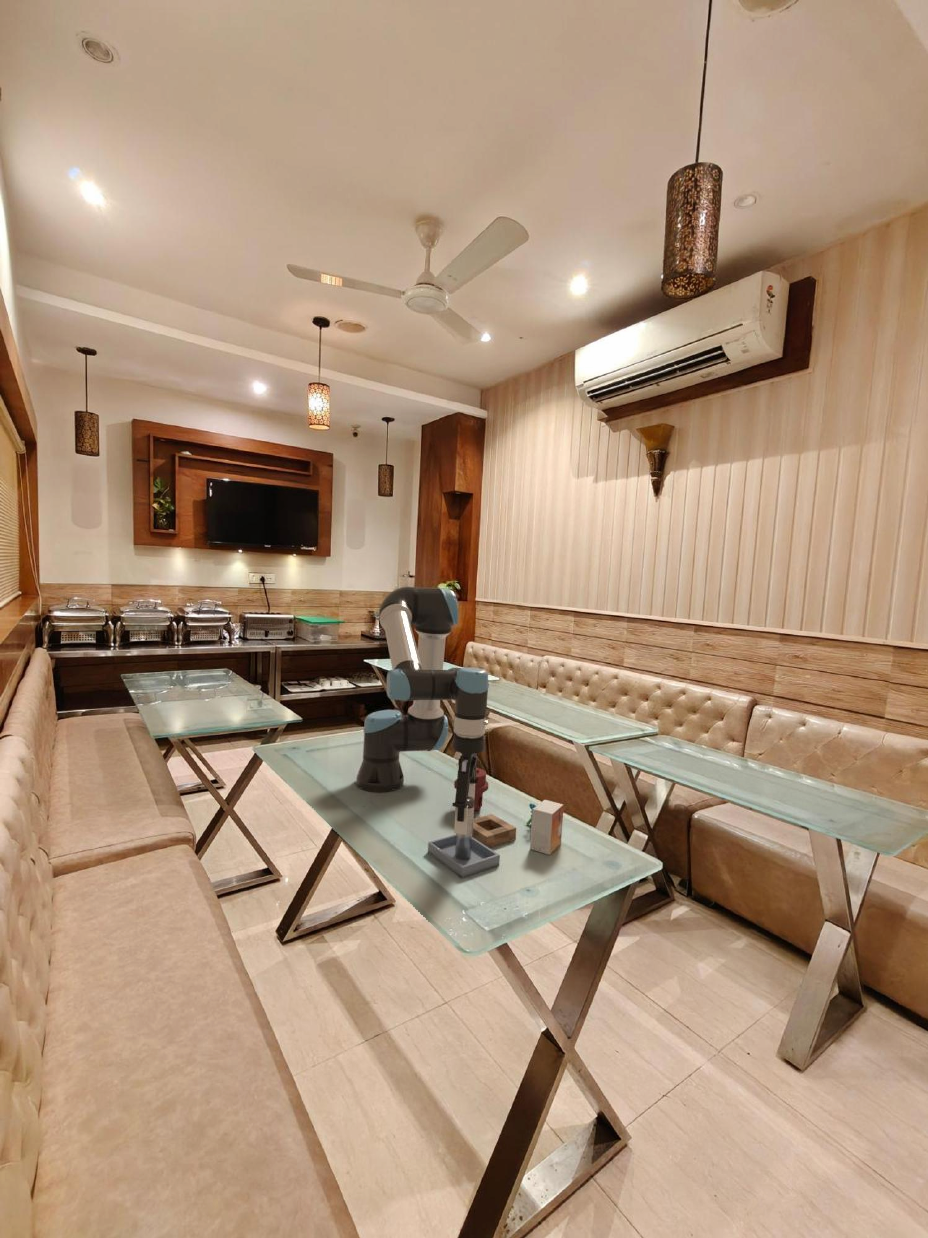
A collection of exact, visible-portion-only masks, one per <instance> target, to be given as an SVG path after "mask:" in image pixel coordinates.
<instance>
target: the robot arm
mask: <svg viewBox="0 0 928 1238" xmlns="http://www.w3.org/2000/svg"><path fill="white" fill-rule="evenodd" d="M458 603H459V602H458V598H457V595H456V593H455V592H454V591H453V590H452V589H449V588H442V587H417V586H415V587H414V586H403V587H399V588H397V589H394V590H393V591H391V592H390V593H388V595H386V597H385V598H384V599H383V600H382V602H381V604H380V606H379V610H378V619H379V623H380V625H381V627H382V629H384V634H385V637H386V641H387V647H388V648H387V649H388V654H389V659H390V664H391V668H392V669H390V670H389V671H387V674H386V696H387V697H388V699H390V700H391V701H403V702H407V701H408V702H409V701H412V702H413V703H412V705H411V706H410V707H408V710H407V714H405V715H404V714H402V712H401V710H399V709H398V710H397V709H384V710H377V711H374V712H371V713H370V714H368V715H367V716H366V717H365V719H364V726H363V727H364V728H363V748H362V749H363V750H362V753H363V754H362V762H361V764H360V767H359V770H358V772H357V775H356V786H357V787H358V788H359V789H361V790H364V791H368V792H376V793H383V792H385V793H386V792H392V791H396V790H398V789H400V788H402V787H403V786H404V782H405V780H404V779H405V777H404V772H403V768H402V766H401V763H400V762H401V761H400V753H402V752H403V753H405V752H432V751H439V750H440V749H443V747H444V746H445V744H446V741H447V738H448V733H449V727H448V726H449V721H448V717H447V716H446V715H445V714H444V710H443V708H441V701H454V715H453V732H454V734H453V735H452V736H453V737H452V749H453V751H455V752H456V753H460V754H461V755H459V756H460V757H459V758H458V763H457V764H458V770H457V776H458V780H457V788H456V789H455V799H454V800H455V801H454V802H452V804H451V805H452V806H451V807H454V808H455V810H454V811H455V813H454V829H453V831H454V832H453V833H454V835H455V834H464V835H466V831H467V813H468V806H467V801H468V796H469V797H472V798H474V797H475V784H473V783H478V778H476V776H477V774H476V767H477V761H478V757H477V755H478V754H481V753H484V750H485V742H486V736H485V733H486V726H488V725H489V722H488V720H487V708H488V707H487V706H488V696H489V693H488V692H489V687H490V686H489V673H488V671H487V670H486V669H483V668H478V667H470V666H469V667H458V666H457V667H456V666H455V667H454V666H453V667H451V668H448V669H444V661H445V651H446V650H445V649H446V639H447V636H449V635H450V634H451V633H452V627H453V628H454V627H456V626H457V625H459V624H458V622H459V615H460V614H459V604H458ZM412 625H413V626H414V628H412ZM413 629H414V631H415V632H416V633H417V634H418V640H417V641H416V640H415V635H414V631H413ZM416 642H418V643H416ZM461 801H463V802H461Z"/></svg>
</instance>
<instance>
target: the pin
mask: <svg viewBox="0 0 928 1238" xmlns="http://www.w3.org/2000/svg"><path fill="white" fill-rule="evenodd" d="M461 802H463V801H461ZM467 806H468V813H467V831H466V835H464V834H456V843H455V857H456V858H457V859H459V860H469V859H470V858H471V856H472V837H473V819H475V818H474V815H475V814H474V813H475V811H474V798H472V797H469V796H468V801H467Z"/></svg>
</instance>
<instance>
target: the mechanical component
mask: <svg viewBox="0 0 928 1238" xmlns="http://www.w3.org/2000/svg"><path fill="white" fill-rule="evenodd" d="M476 774H477V776H476V778H478V783H473V784H475V797H474V812H475V811H478V810H481V808H482V807H483V796H484V793H485V792H487V791H488V790H489V782H488V781H487V772H486V770H484V769H482V768H478V767H477V766H476ZM457 780H458V775H457V777H456V778H455V780H454V782H453V783H454V784H453V786H454V787H453V788H454V789H455V790H456V788H457Z"/></svg>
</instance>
